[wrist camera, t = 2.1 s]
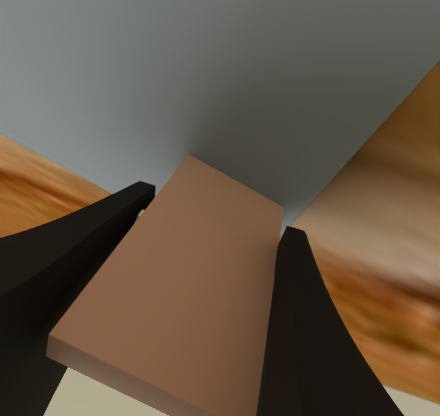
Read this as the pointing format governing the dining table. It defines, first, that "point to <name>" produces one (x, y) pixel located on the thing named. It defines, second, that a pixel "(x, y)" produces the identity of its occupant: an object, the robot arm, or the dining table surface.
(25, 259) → the robot arm
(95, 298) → the tile end
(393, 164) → the dining table surface
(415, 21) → the mat
